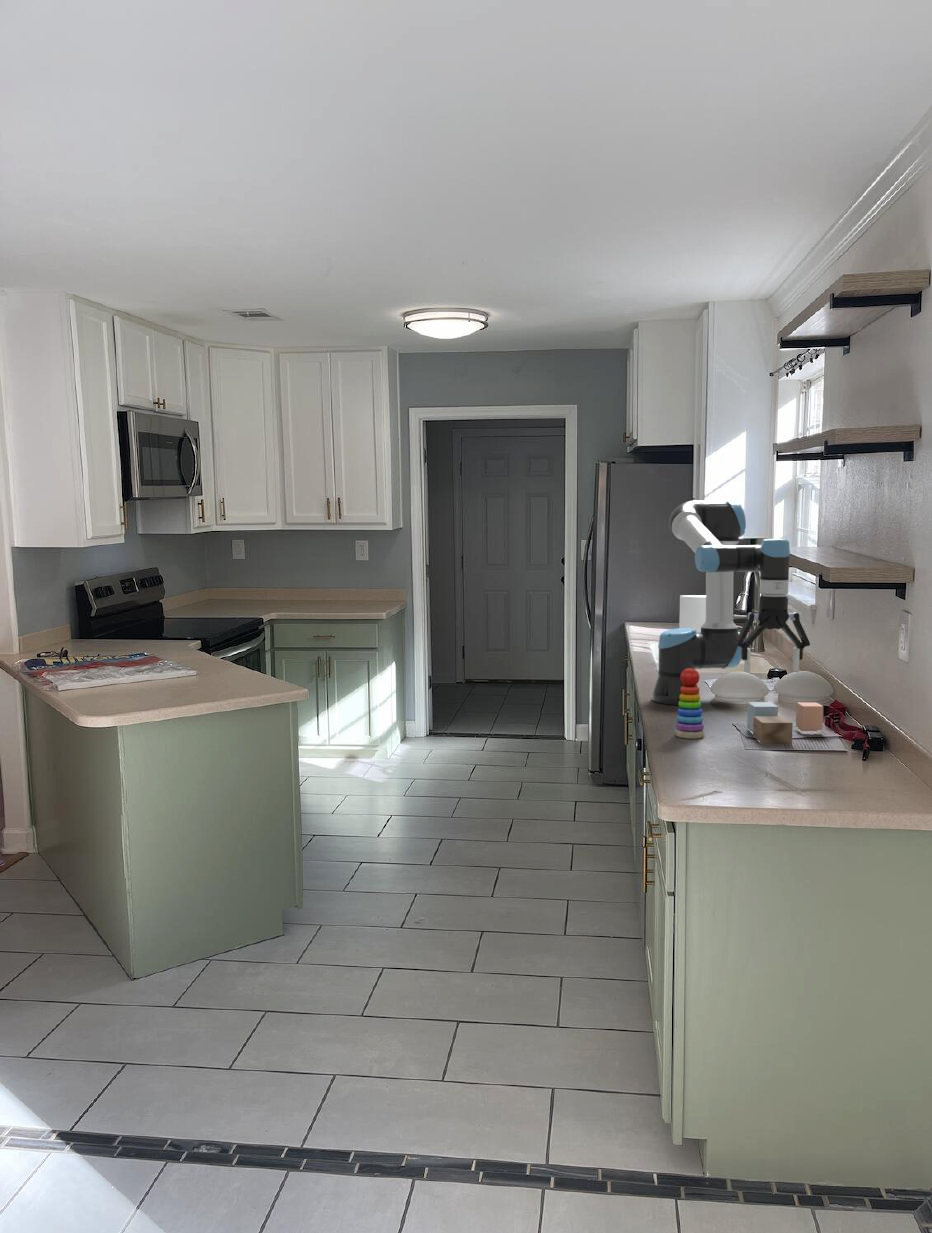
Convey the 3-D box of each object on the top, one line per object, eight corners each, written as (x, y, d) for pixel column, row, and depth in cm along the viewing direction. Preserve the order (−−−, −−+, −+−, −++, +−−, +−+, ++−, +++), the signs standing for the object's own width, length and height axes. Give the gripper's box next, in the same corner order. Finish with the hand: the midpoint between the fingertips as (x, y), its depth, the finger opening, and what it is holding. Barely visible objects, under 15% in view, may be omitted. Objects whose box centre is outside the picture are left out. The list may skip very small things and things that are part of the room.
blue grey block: (753, 735, 266) (754, 706, 265) (746, 729, 272) (747, 702, 271) (777, 735, 266) (778, 706, 265) (770, 730, 272) (771, 702, 271)
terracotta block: (802, 734, 266) (803, 706, 265) (795, 730, 271) (796, 702, 271) (822, 734, 266) (823, 706, 265) (815, 730, 271) (816, 702, 270)
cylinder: (728, 667, 380) (730, 597, 377) (685, 668, 379) (686, 597, 376) (713, 661, 397) (715, 593, 394) (672, 661, 396) (673, 593, 393)
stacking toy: (707, 734, 266) (709, 667, 264) (701, 740, 259) (703, 671, 257) (678, 731, 270) (680, 665, 268) (672, 738, 262) (673, 669, 260)
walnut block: (761, 745, 255) (762, 722, 254) (753, 737, 263) (753, 716, 262) (791, 745, 255) (792, 722, 254) (782, 738, 263) (783, 716, 262)
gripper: (732, 596, 262) (730, 674, 264) (824, 596, 262) (821, 673, 264) (724, 594, 269) (722, 669, 271) (813, 594, 270) (810, 669, 272)
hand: (771, 671), depth 268 cm, fingers open, 13 cm apart
